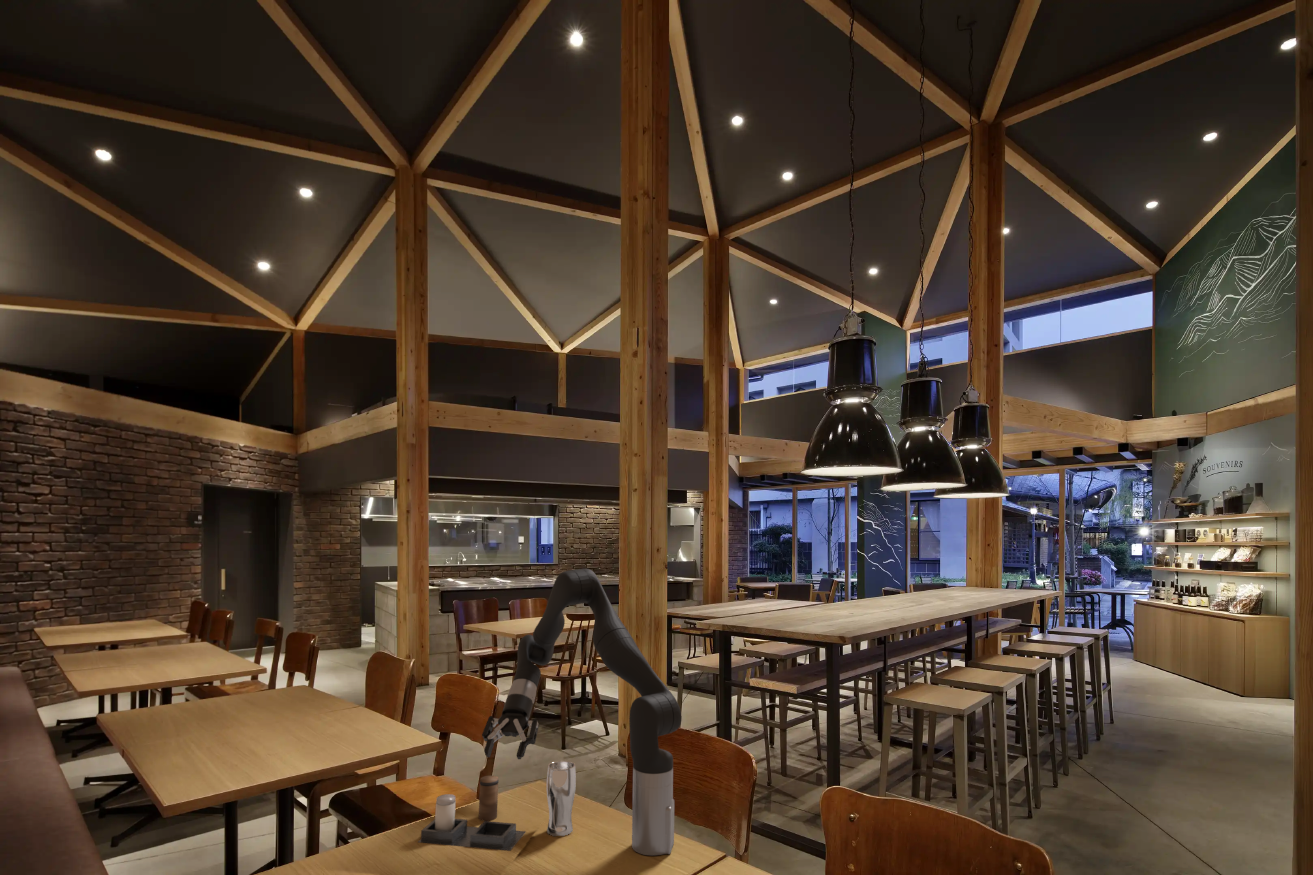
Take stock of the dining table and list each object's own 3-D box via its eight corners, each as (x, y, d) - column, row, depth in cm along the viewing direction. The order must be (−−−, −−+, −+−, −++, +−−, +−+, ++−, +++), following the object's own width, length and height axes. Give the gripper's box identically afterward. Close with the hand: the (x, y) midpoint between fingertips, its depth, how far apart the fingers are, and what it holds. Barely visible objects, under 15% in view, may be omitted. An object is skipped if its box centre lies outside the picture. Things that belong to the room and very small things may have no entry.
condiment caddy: (525, 835, 164) (526, 822, 165) (510, 855, 155) (510, 840, 155) (438, 828, 168) (438, 814, 168) (417, 846, 158) (418, 832, 159)
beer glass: (577, 825, 170) (578, 760, 172) (571, 838, 163) (572, 770, 165) (549, 824, 171) (551, 759, 173) (541, 836, 164) (543, 769, 166)
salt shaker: (457, 830, 164) (459, 794, 165) (448, 838, 160) (450, 801, 161) (439, 829, 165) (441, 793, 166) (430, 837, 161) (432, 800, 162)
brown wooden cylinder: (499, 818, 174) (501, 775, 175) (492, 825, 170) (494, 782, 171) (482, 816, 175) (484, 774, 176) (475, 824, 170) (476, 780, 172)
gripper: (492, 691, 194) (473, 747, 181) (542, 693, 191) (525, 750, 179) (499, 706, 198) (480, 762, 185) (547, 709, 196) (532, 765, 183)
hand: (502, 756), depth 182 cm, fingers open, 8 cm apart
